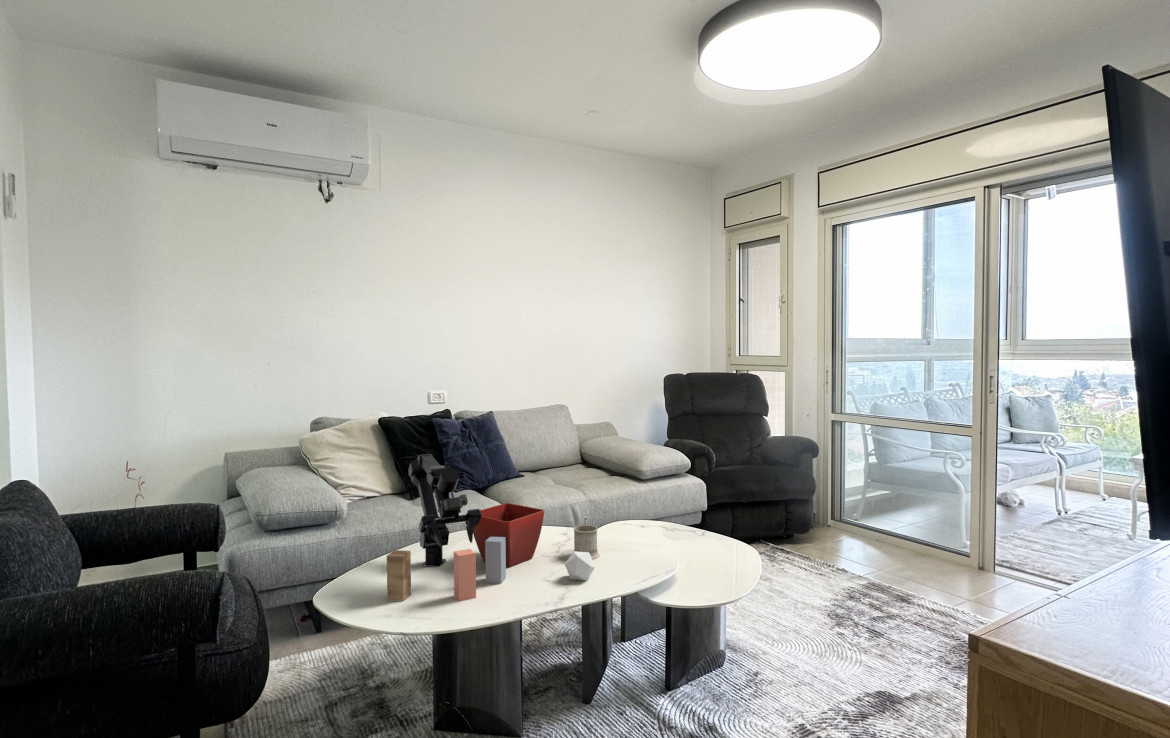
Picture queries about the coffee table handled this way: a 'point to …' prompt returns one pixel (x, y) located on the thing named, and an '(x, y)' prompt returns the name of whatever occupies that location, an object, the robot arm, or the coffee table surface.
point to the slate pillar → (495, 559)
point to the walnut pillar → (398, 575)
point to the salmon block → (464, 574)
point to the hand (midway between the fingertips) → (456, 544)
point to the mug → (586, 539)
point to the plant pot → (510, 530)
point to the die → (580, 565)
